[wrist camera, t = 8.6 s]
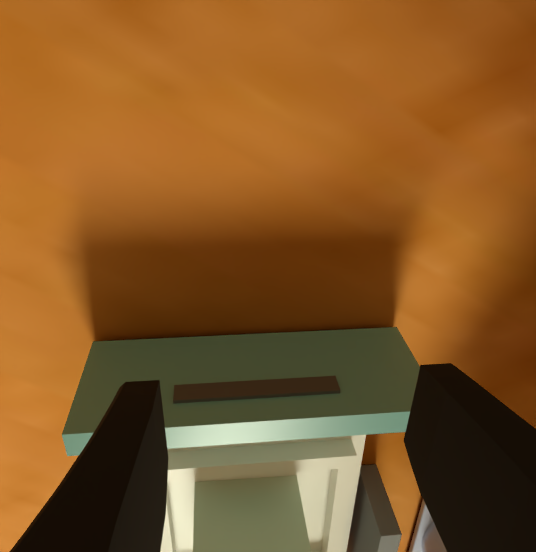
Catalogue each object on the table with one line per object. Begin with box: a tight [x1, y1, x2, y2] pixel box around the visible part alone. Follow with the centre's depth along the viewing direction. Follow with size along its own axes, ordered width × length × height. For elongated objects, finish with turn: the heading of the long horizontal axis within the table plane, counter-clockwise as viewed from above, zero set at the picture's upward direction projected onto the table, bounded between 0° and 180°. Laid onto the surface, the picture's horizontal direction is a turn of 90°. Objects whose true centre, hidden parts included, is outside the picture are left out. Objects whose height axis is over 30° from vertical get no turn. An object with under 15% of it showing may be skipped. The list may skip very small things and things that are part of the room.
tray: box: [62, 327, 420, 552], centre depth 22 cm, size 13×16×5 cm
